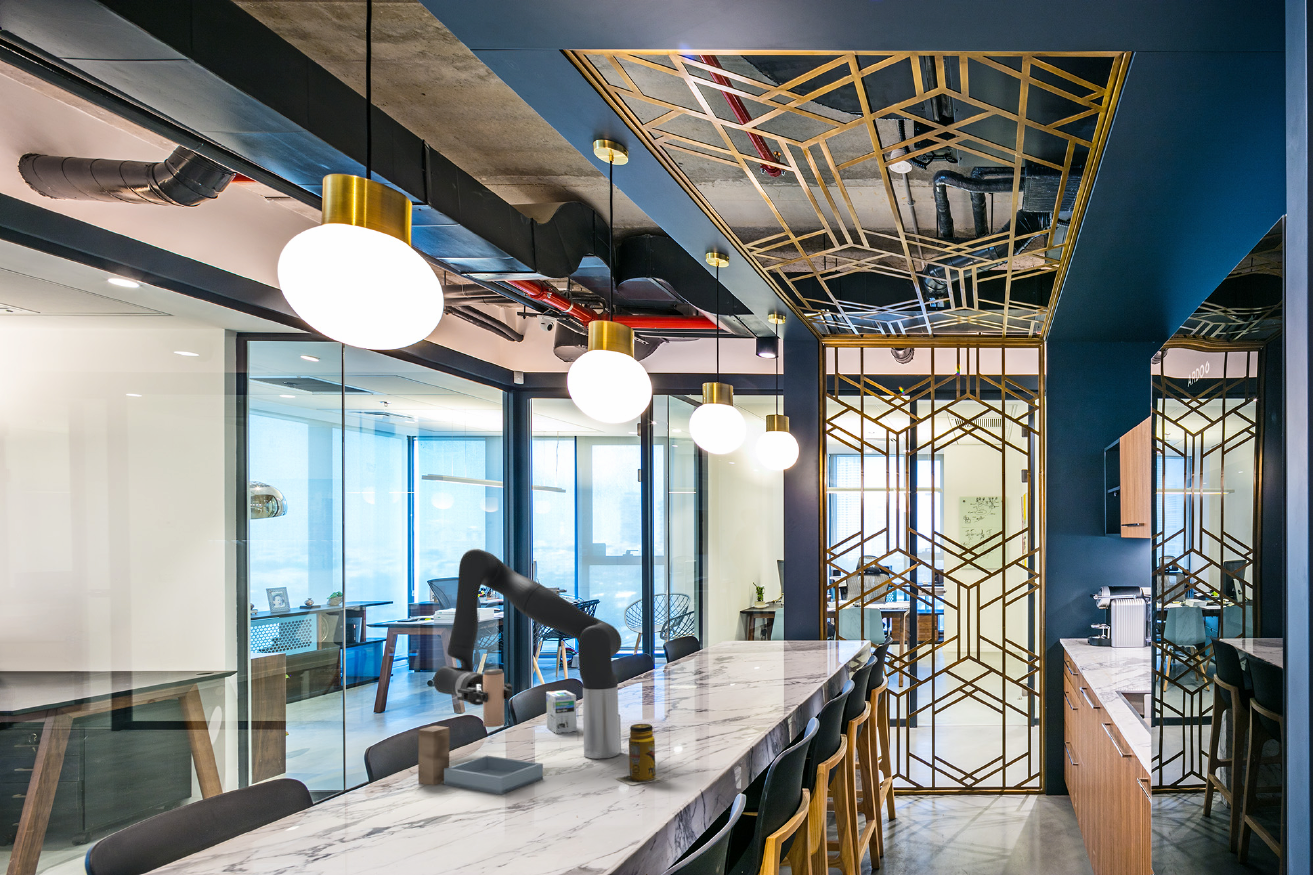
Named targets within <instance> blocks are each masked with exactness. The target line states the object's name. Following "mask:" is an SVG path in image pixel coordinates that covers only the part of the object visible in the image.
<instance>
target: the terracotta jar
mask: <svg viewBox="0 0 1313 875" xmlns="http://www.w3.org/2000/svg"><path fill="white" fill-rule="evenodd" d="M483 672H484V673H482V674H483V691H484V692H487V693H488V702H483V704H482V705H483V707H482V708H483V709H482V712H483V713H482V715H483V716H482V721H483V722H482V723H483V724H482V725H483V727H485V728H495V727H502V726H505V699H504V684H505V673H504V671H503V669H502V668H491V669H485V670H484V671H483Z"/></svg>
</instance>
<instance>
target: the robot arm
mask: <svg viewBox="0 0 1313 875" xmlns="http://www.w3.org/2000/svg"><path fill="white" fill-rule="evenodd" d="M457 580H458V582H457V594H456V604H455V612H454V619H453V624H452V628H451V634H450V637H449V641H448V646H447V655H448V656H449V657H451V658H453V659H456V660H458V661H459V662H460V667H456V666H448V665H446V666H441V667H440V668H439V669H437V671H435V674H434V675H433V687H434V688H435V690H436V691H437V693H440V694H445V695H452V696H454V697H456V700H457V701H463V702H466V703H469V704H471V705H474V706H482V705H483V702H488V693H487V692H484V691H483V674H484V673H480V672H475V671H474V651H475V647H476V641H477V637H478V632H479V615H478V600H479V595H480V594H479V593H480V589H481V586H485V587H486V588H489V589H491V590H493V591H495V592H497V593H499V594H500V595H502V596H503V597H505V598H506V599H507V600H508V601H509V602H510V604H512V605H513V606H514V607H515V608H516V609H517V610H518V611H519V612H520V613H522V614H523V615H524V616H526V617H528V619H531V620H533V621H534V622H536V623H538V624H540V625H542V626H543V627H547V628H549V629H553V630H556V631H559V632H562V633H565V634H567V635H570V636H571V637H573V638H575V639H576V640H578V644H577V646H578V652H577V653H578V654H577V655H578V667H579V675H580V679H581V681H582V682H581V683H582V711H583V712H582V714H583V715H582V716H583V719H582V720H583V721H582V722H583V723H582V724H583V756H584V757H585V758H588V759H609V758H614V757H617V756H619V755H620V753H621V752H622V736H621V735H622V734H621V731H622V730H621V729H622V728H621V715H620V713H619V686H618V684H619V683H618V682H619V679H618V676H617V674H616V673H615V672H614V671H613V665H612V664H613V663H612V657H613V656H615V655H616V654H618V653H619V651H620V650H621V647H622V638H621V635H620V632H619V631H618V630H617V628H615V627H614V626H613V625H611V624H610V623H608V622H606V621H604V620H601V619H599V618H597V617H595V616H593V615H590V614H589V613H587V612H584V611H583V610H582V609H580V608H578V607H577V606H575V605H574V604H572V603H571V602H569V600H566V599H565V598H563V597H562V596H560V595H558V594H557V593H555V592H554V591H553V590H551V589H549V588H548V587H546V586H545V585H543V584H541V583H539V582H537V581H535V580H533V579H531V578H528V577H526V576H524V575H522V574H520V573H518V572H517V571H515V570H514V569H512V568H511V567H510V566H508V565H507V564H505V563H504V562H503V561H501V559H499V558H498V557H497V556H495V555H494V554H493V553H491V552H488V551H486V550H483V549H479V548H471V549H468V550H467V551H466V552H464V554H463V555H462V556H461V558H460V561H459V569H458V579H457ZM512 697H513V685H512V684H511V683H509V682H504V700H510V699H511V698H512Z"/></svg>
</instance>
